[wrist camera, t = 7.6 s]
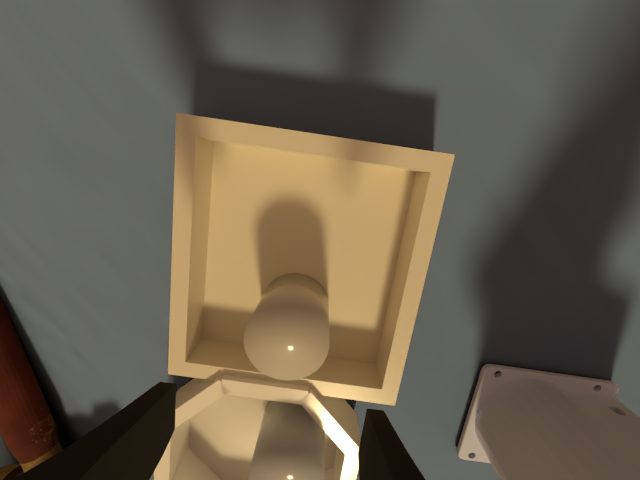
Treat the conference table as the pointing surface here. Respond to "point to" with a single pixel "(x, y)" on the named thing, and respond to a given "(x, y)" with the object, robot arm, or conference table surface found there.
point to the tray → (300, 247)
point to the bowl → (248, 428)
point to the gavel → (22, 406)
